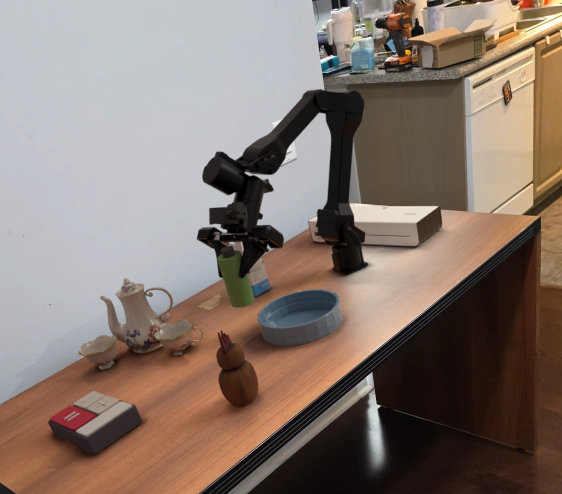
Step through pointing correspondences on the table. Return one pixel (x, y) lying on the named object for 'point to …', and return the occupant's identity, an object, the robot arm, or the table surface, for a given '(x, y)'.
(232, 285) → the green bottle
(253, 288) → the ink box
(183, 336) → the chinaware
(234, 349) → the wooden figurine
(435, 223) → the laminator
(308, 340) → the basin
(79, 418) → the calculator
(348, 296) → the table surface
